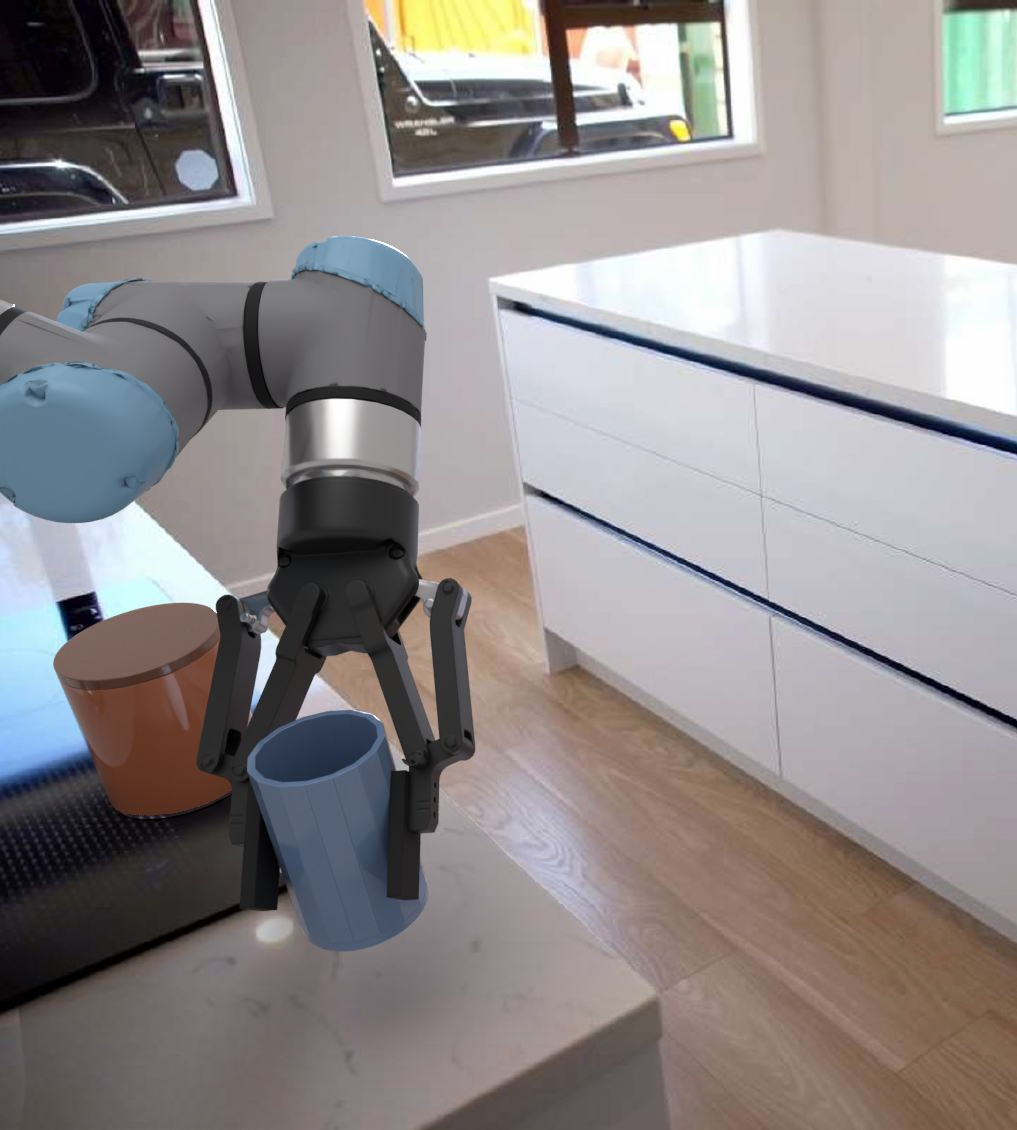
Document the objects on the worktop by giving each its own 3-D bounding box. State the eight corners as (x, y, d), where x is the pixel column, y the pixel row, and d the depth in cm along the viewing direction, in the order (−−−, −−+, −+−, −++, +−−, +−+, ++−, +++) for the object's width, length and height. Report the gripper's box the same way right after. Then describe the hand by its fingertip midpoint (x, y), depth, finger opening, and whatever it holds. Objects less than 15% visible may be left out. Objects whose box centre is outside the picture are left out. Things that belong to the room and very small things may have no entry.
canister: (102, 837, 92) (41, 696, 86) (117, 756, 101) (63, 624, 96) (265, 793, 95) (217, 654, 90) (265, 719, 104) (222, 589, 99)
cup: (303, 967, 68) (246, 800, 63) (301, 889, 74) (247, 730, 69) (435, 927, 70) (389, 763, 65) (422, 854, 76) (379, 697, 71)
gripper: (537, 504, 78) (537, 894, 71) (211, 529, 78) (178, 921, 71) (504, 456, 71) (499, 884, 64) (145, 483, 71) (100, 914, 64)
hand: (330, 903), depth 67 cm, fingers closed on cup, 7 cm apart
